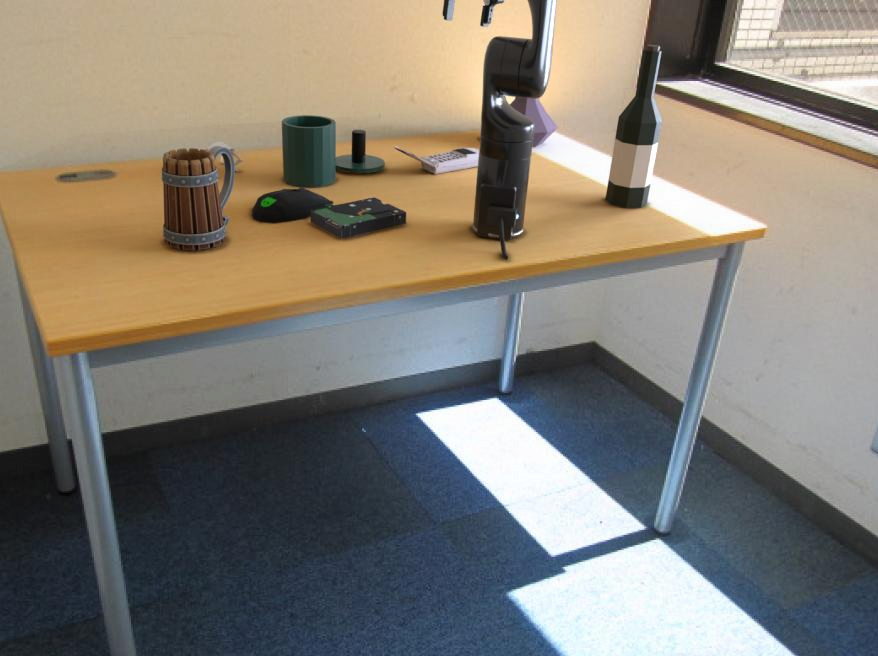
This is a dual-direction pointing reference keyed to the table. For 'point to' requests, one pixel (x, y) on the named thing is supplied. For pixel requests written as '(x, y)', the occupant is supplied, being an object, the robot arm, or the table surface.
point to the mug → (195, 198)
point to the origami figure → (227, 148)
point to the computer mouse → (287, 205)
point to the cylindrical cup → (309, 150)
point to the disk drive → (357, 217)
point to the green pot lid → (359, 157)
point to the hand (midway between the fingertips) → (465, 23)
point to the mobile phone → (447, 160)
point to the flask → (535, 118)
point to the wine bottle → (636, 139)
